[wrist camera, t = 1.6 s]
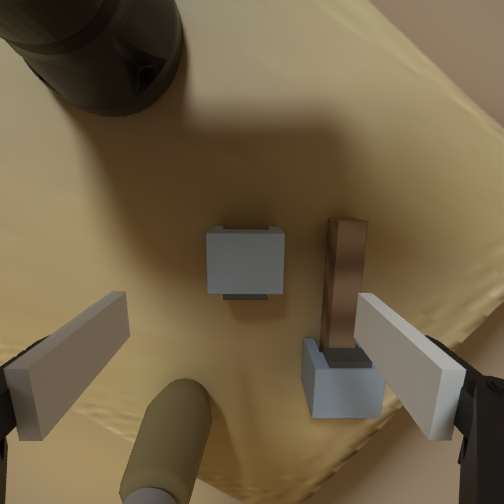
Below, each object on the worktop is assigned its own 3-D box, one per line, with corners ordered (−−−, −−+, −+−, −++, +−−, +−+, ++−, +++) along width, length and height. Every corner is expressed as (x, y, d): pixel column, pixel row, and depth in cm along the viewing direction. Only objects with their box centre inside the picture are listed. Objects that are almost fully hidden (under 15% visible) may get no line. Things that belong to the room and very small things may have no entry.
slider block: (357, 380, 34) (380, 418, 28) (301, 379, 34) (312, 418, 28) (363, 333, 33) (387, 363, 27) (304, 333, 33) (316, 363, 27)
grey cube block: (214, 225, 30) (205, 233, 24) (278, 226, 30) (285, 233, 25) (215, 280, 32) (207, 300, 26) (276, 281, 32) (282, 300, 26)
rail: (328, 218, 30) (338, 221, 27) (354, 218, 30) (368, 221, 27) (316, 383, 35) (324, 404, 31) (339, 383, 35) (349, 404, 32)
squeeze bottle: (202, 429, 36) (157, 650, 19) (146, 409, 36) (46, 619, 18) (225, 383, 35) (201, 576, 17) (168, 361, 34) (81, 539, 16)
